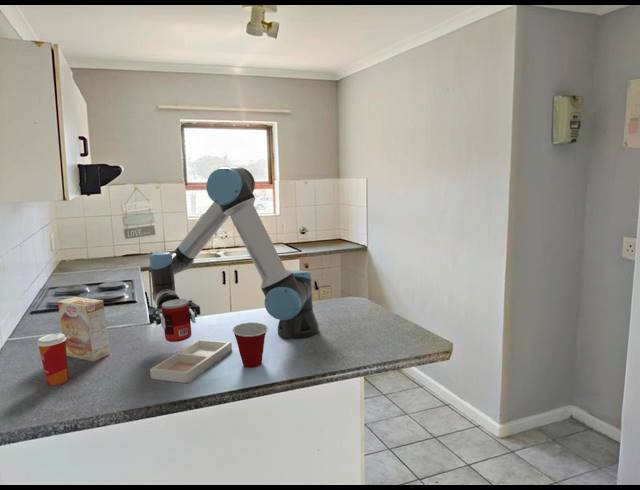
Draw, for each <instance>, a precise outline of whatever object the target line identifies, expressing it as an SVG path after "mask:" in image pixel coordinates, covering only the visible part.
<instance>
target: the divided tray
mask: <svg viewBox="0 0 640 490" xmlns="http://www.w3.org/2000/svg"><path fill="white" fill-rule="evenodd" d="M232 346H233V345H232V342H231V341H224V340H223V341H221V340H220V341H219V340H210V339H201V338H200V339H199V338H198V339H197V340H195V341H193V342H191V344H189V345H187V346H186V347H184V348H182V349H180V350H179V351H177V352H175V353H174V354H172V355H171V356H169V357H168V358H165V359H164V360H162V362H161V361H160V363H157V364H156V365H155V366H153V367H151V368H150V369H149V371H150V379H152V380H158V381H159V380H160V381H166V382H167V381H168V382H175V383H183V384H189V383H191V382H192V381H193V380H194V379H196V378H197V377H198V376H200V375H201V374H202V373H204V372H205V371H206V370H208V369H210V368H211V367H212V366H213V365H215V364H216V363H217V362H219V361H220V360H221V359H223V358H224V357H225V356H226V355H228V354H230V353H231V352H232V351H233V347H232Z"/></svg>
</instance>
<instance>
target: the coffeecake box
mask: <svg viewBox="0 0 640 490" xmlns="http://www.w3.org/2000/svg"><path fill="white" fill-rule="evenodd" d="M104 305H105V304H104V300H103V299H95V298H87V297H81V296H72V297H70V298H65V299H62V300H58V301H57V307H58V308H57V309H58V315H59V320H60V321H59V322H60V329H61V334H64V336H65V337H66V340H65V341H66V353H67V357H71V358H74V359H75V358H76V359H81V360H85V361H88V362H89V361H90V362H96V361H98V360H101V359H102V358H104V357H107V356H109V355H111V350H110V341H109V336H108V335H109V334H108V329H107V322H106V321H107V320H106V313H105V306H104Z"/></svg>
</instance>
